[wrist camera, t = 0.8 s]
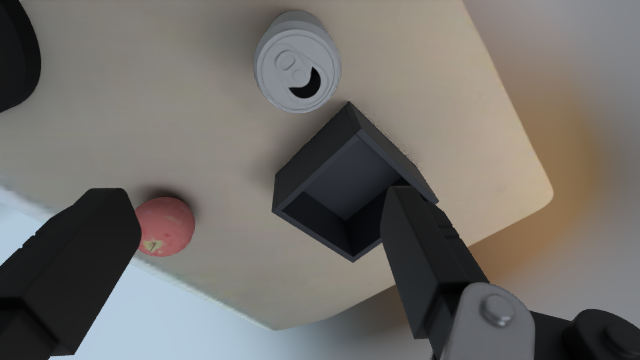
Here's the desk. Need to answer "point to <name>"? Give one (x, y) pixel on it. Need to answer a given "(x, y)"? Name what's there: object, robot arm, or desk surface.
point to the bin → (344, 184)
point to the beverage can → (297, 63)
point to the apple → (165, 226)
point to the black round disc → (17, 55)
